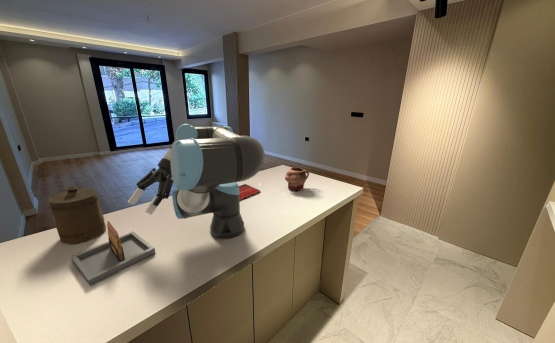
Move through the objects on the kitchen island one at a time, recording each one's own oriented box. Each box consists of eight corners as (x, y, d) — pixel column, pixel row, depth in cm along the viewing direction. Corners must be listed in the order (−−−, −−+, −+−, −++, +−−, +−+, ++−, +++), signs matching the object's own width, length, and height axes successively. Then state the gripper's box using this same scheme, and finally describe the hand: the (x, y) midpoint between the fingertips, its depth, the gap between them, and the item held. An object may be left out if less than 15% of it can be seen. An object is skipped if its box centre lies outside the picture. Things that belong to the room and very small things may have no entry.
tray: (155, 253, 84) (154, 247, 83) (90, 286, 68) (88, 280, 68) (134, 236, 94) (133, 231, 93) (72, 262, 78) (70, 256, 77)
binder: (220, 192, 137) (245, 183, 152) (220, 195, 137) (245, 186, 153) (237, 200, 127) (262, 190, 143) (237, 204, 128) (261, 193, 144)
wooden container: (82, 224, 101) (70, 179, 95) (114, 225, 101) (104, 180, 95) (50, 244, 87) (32, 193, 81) (86, 245, 87) (72, 194, 80)
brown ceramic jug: (300, 182, 162) (302, 164, 158) (313, 187, 153) (315, 168, 149) (280, 188, 150) (280, 169, 145) (292, 194, 141) (293, 173, 137)
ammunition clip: (110, 248, 85) (104, 221, 81) (116, 246, 86) (110, 219, 83) (119, 261, 78) (112, 232, 75) (125, 259, 79) (119, 230, 76)
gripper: (196, 172, 88) (164, 221, 80) (162, 162, 101) (132, 203, 94) (182, 162, 82) (147, 213, 75) (148, 153, 96) (115, 196, 88)
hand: (139, 208), depth 84 cm, fingers open, 13 cm apart
